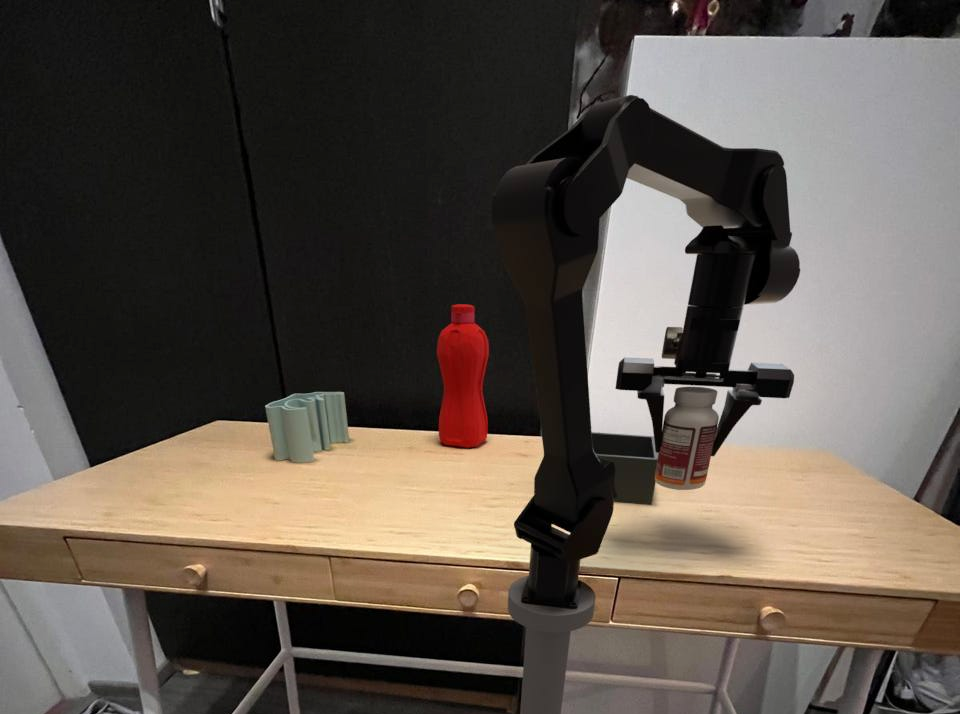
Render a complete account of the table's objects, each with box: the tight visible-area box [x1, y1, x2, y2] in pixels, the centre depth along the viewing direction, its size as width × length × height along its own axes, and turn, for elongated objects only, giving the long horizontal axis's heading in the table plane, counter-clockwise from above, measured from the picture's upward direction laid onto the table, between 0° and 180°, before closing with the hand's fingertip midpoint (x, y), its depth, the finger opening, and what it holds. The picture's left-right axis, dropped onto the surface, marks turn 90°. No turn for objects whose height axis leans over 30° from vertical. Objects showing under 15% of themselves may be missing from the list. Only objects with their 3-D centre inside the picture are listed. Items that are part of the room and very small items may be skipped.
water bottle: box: [436, 303, 490, 449], centre depth 112 cm, size 9×11×25 cm
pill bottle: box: [655, 386, 720, 491], centre depth 68 cm, size 6×6×11 cm
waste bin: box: [592, 431, 659, 505], centre depth 94 cm, size 15×15×7 cm
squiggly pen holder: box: [264, 391, 350, 464], centre depth 110 cm, size 18×10×9 cm, turn 171°
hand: (684, 453), depth 69 cm, fingers closed on pill bottle, 6 cm apart
